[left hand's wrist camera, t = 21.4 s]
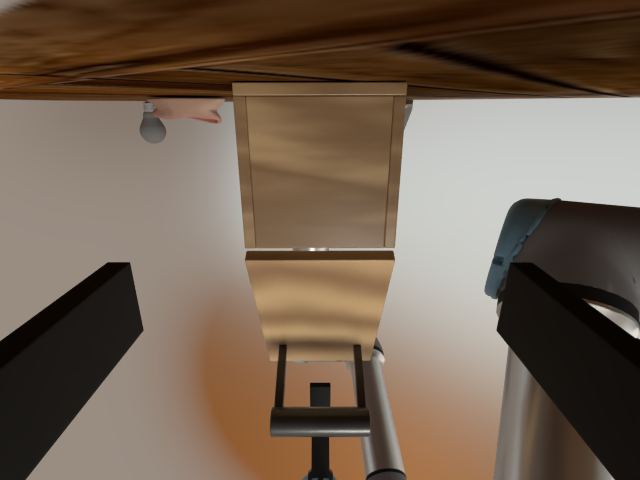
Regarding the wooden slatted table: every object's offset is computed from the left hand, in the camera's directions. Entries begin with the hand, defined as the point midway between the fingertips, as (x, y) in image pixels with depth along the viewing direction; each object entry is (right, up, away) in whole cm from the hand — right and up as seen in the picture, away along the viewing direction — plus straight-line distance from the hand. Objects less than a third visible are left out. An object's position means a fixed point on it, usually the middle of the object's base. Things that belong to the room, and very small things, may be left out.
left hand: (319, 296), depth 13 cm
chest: (0, +14, +15) cm, 20 cm away
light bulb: (-42, +36, +75) cm, 94 cm away
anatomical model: (-20, +24, +42) cm, 52 cm away
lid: (0, -4, +18) cm, 18 cm away
